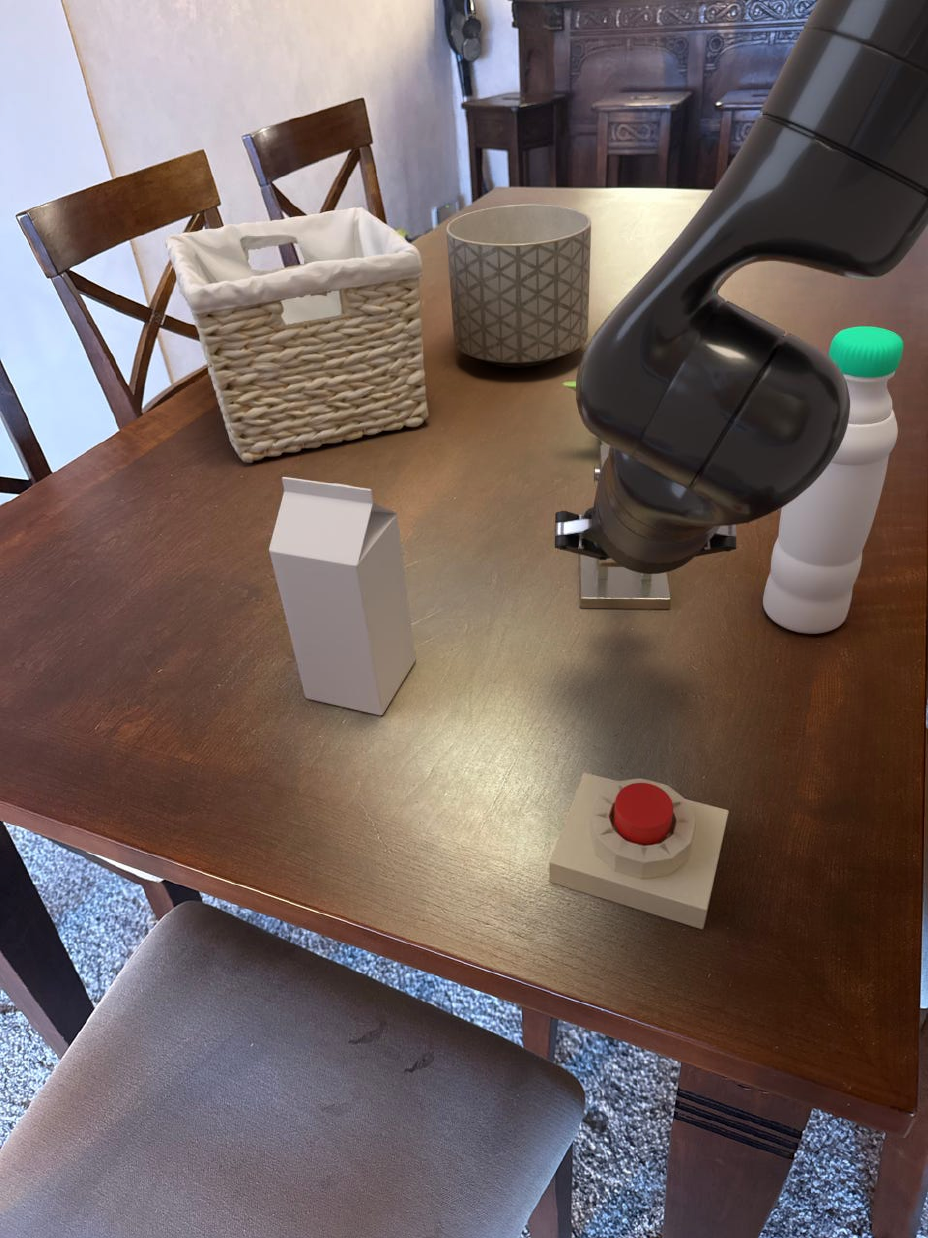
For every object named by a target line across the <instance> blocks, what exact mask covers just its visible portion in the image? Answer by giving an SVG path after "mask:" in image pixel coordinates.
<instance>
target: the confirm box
mask: <svg viewBox="0 0 928 1238" xmlns="http://www.w3.org/2000/svg"><path fill="white" fill-rule="evenodd" d="M634 783H648V784H652V785H655V786H657V787H659V788H661V789H662V790H664V791H665V792H666V793H667V794H668V795H669V797H670V798H671V800H672V803H673V815H672V822H671V828H670V831H669V833H668V835H667V836H666V837H665V838H664V839H663V840H661V841H660V842H658V843H655V844H650V845H641V844H636V843H633V842H630V841H628V840H627V839H625V838H624V837H623V836H622V835H620V833H619V832H618V831H617V829H616V827H615V824H614V812H615V800H616V797H617V795H618V793H619V792H620V791H621V790H622V789H623V788H624V787H626V786H628V785H630V784H634ZM729 812H730V811H729V810H728V809H726V808H721V807H717V806H713V805H710V804H706V803H703V802H698V801H694V800H692V799H687V798H684V796H682V795H680V794H679V793H678V792H677V791H676V790H674V789H673V788H671V786H670V785H668V784H664V783H661V782H658V781H653V780H650V779H645V778H641V777H639V778H632V779H627V780H626V779H625V780H615V779H611V778H607V777H604V776H600V775H596V774H593V773H589V772H583V774H582V776H581V779H580V781H579V784H578V787H577V788H576V791H575V794H574V797H573V799H572V802H571V804H570V807H569V810H568V812H567V815H566V818H565V820H564V822H563V825H562V827H561V830H560V833H559V835H558V837H557V841H556V843H555V846H554V848H553V851H552V853H551V855H550V859H549V861H548V882H550V883H552V884H554V885H558V886H562V887H564V888H568V889H571V890H574V891H578V892H580V893H583V894H587V895H590V896H593V897H596V898H600V899H604V900H607V901H609V902H612V903H616V904H619V905H622V906H625V907H628V908H632V909H635V910H639V911H642V912H645V913H648V914H652V915H654V916H657V917H661V918H664V919H667V920H671V921H673V922H677V923H680V924H684V925H687V926H690V927H693V928H697V929H699V930H704V928H705V923H706V919H707V914H708V909H709V905H710V900H711V896H712V892H713V887H714V882H715V878H716V873H717V869H718V865H719V864H718V863H719V859H720V854H721V850H722V845H723V840H724V837H725V832H726V827H727V821H728V817H729Z"/></svg>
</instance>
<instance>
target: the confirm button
mask: <svg viewBox="0 0 928 1238" xmlns="http://www.w3.org/2000/svg"><path fill="white" fill-rule="evenodd" d="M672 815H673V803H672V800H671V798H670V797H669V795H668V794H667V793H666V792H665V791H664V790H662V789H661V788H659V787H657V786H655V785H652V784H648V783H634V784H630V785H628V786H626V787H624V788H623V789H622V790H621V791H620V792H619V793H618V795H617V797H616V800H615V812H614V824H615V827H616V829H617V831H618V832H619V833H620V835H622V836H623V837H624V838H625V839H627V840H628V841H630V842H633V843H636V844H641V845H650V844H655V843H658V842H660V841H661V840H663V839H664V838H665V837H666V836H667V835H668V833H669V831H670V828H671V822H672Z"/></svg>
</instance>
